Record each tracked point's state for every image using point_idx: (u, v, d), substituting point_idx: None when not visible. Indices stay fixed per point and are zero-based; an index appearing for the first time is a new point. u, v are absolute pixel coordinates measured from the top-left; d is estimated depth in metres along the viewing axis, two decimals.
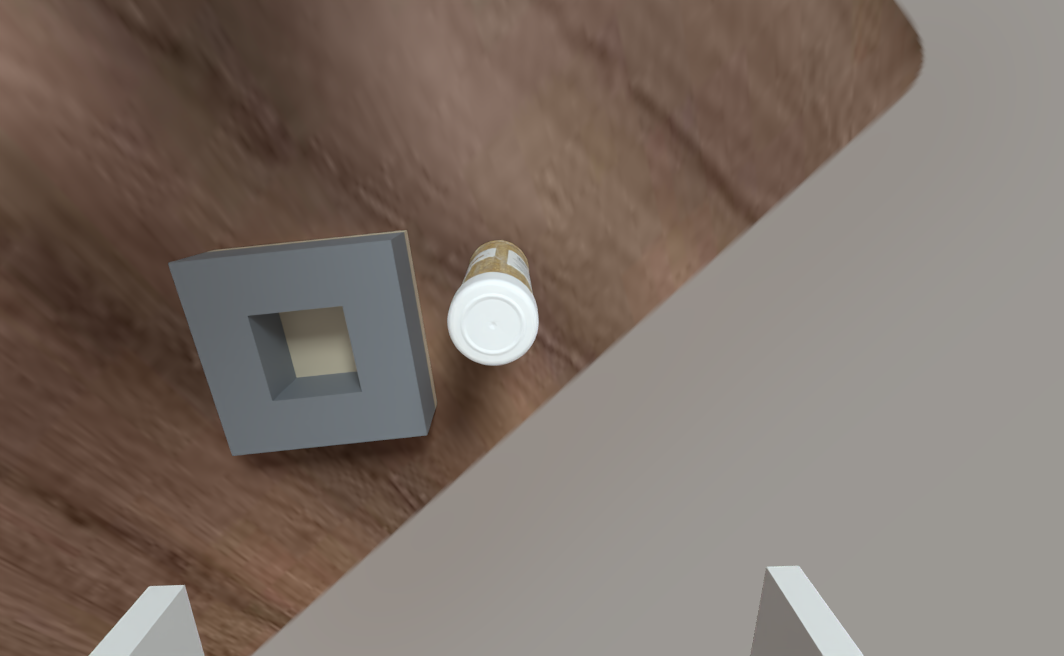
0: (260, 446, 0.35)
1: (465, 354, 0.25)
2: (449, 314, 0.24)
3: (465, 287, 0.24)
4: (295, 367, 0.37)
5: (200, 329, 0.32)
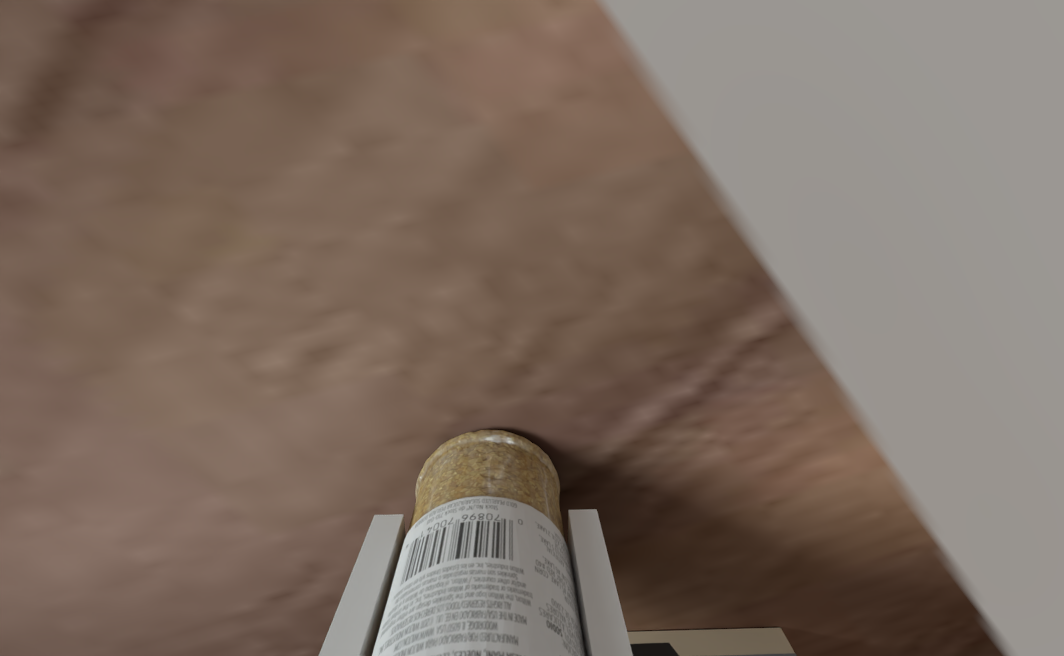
0: None
1: None
2: None
3: None
4: None
5: None
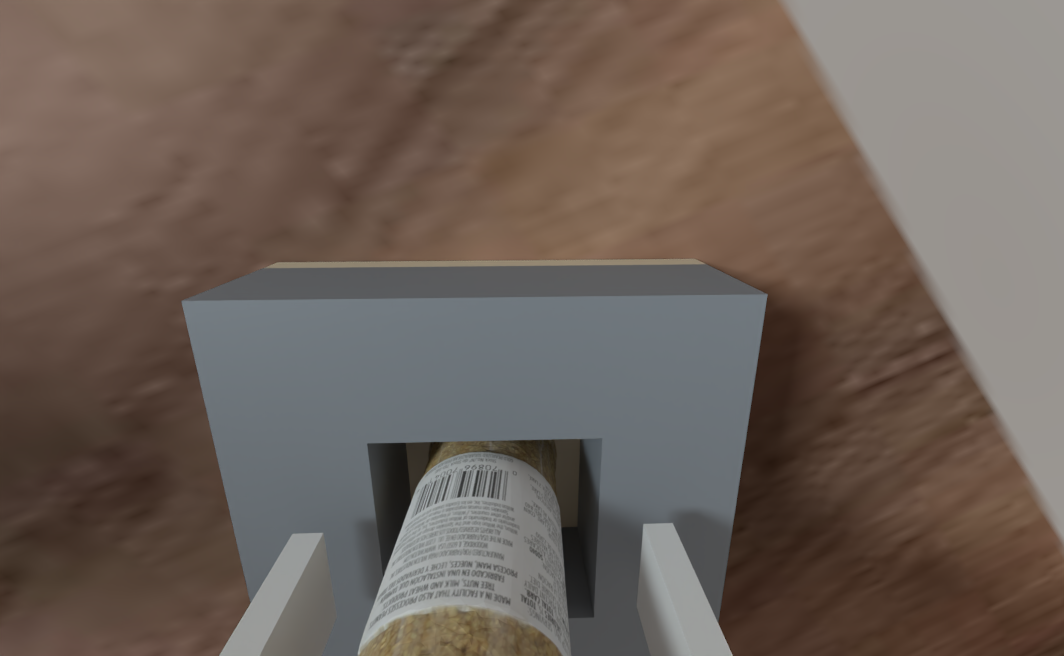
0: None
1: None
2: None
3: None
4: None
5: None
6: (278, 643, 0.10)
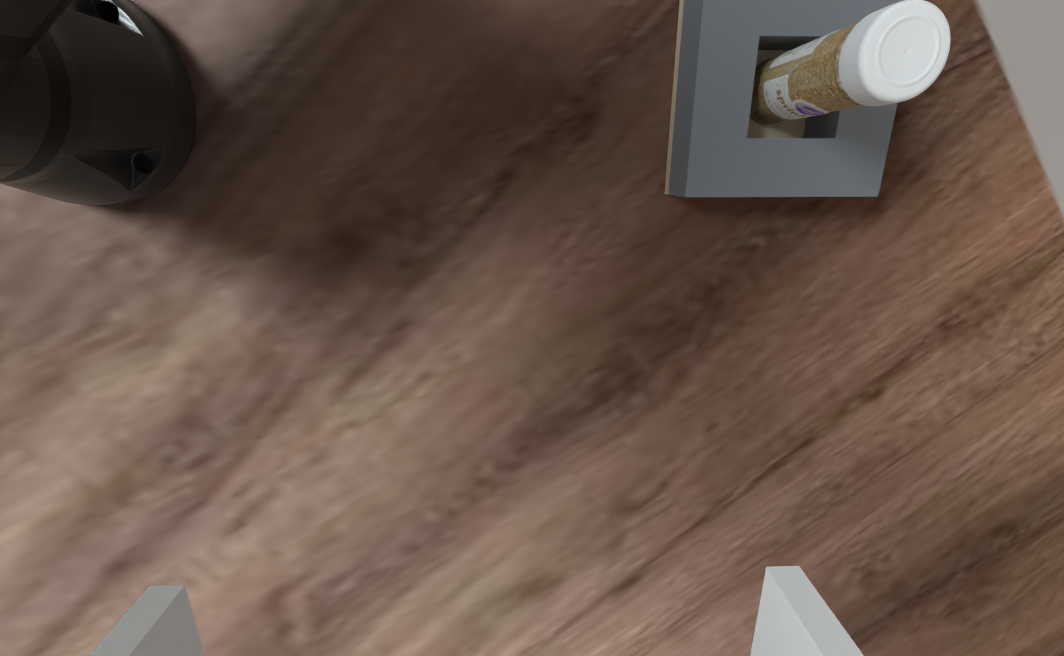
0: (877, 165, 0.35)
1: (926, 86, 0.24)
2: (881, 97, 0.25)
3: (859, 76, 0.24)
4: None
5: (748, 187, 0.35)
6: None
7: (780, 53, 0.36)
